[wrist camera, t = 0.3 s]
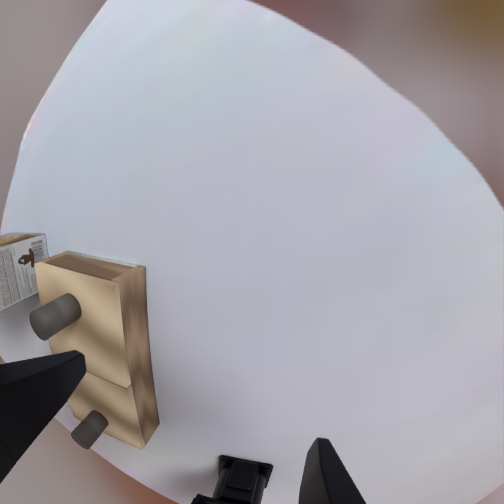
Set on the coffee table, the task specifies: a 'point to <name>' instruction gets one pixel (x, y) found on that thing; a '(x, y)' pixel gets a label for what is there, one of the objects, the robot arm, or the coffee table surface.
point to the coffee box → (19, 266)
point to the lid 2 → (104, 412)
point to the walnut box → (125, 325)
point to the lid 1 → (82, 320)
